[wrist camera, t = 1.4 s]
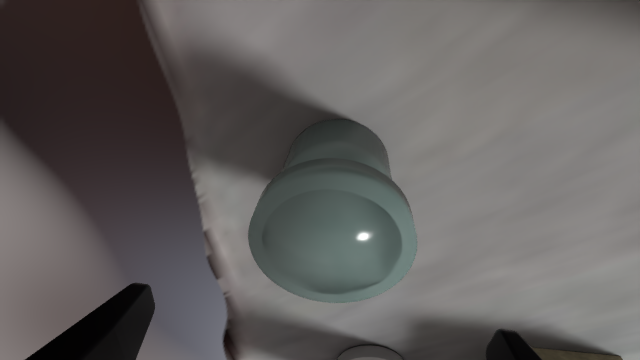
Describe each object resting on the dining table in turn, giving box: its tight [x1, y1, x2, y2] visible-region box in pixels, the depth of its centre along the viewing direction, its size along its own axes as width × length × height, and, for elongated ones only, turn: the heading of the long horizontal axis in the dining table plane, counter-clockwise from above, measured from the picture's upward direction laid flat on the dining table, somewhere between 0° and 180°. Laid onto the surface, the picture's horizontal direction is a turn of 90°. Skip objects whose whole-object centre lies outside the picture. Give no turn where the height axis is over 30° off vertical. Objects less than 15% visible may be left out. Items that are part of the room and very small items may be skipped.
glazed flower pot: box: [248, 119, 417, 303], centre depth 18 cm, size 7×7×7 cm
